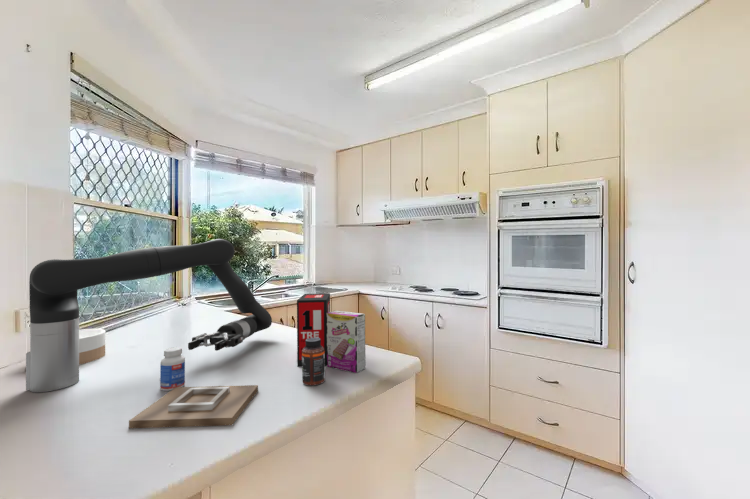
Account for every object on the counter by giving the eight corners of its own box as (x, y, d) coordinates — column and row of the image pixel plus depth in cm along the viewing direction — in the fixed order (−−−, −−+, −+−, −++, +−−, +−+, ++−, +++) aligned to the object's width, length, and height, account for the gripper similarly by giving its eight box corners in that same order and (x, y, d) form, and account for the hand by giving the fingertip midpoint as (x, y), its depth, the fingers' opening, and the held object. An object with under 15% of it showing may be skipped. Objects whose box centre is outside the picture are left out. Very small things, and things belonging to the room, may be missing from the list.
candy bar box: (325, 367, 97) (325, 312, 97) (336, 362, 101) (335, 310, 101) (356, 374, 91) (356, 315, 91) (366, 368, 95) (365, 313, 96)
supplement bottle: (329, 379, 87) (329, 337, 88) (316, 388, 82) (316, 343, 82) (311, 376, 90) (310, 335, 90) (297, 384, 85) (297, 340, 85)
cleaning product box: (327, 365, 98) (326, 299, 99) (297, 366, 98) (296, 300, 98) (330, 349, 115) (329, 293, 115) (305, 350, 114) (304, 293, 115)
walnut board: (128, 428, 64) (128, 414, 64) (175, 393, 80) (175, 382, 80) (232, 425, 64) (232, 411, 65) (258, 391, 80) (257, 380, 81)
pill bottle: (173, 392, 80) (173, 352, 81) (154, 390, 81) (154, 351, 82) (189, 383, 86) (189, 346, 86) (172, 382, 87) (172, 345, 87)
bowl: (96, 349, 119) (96, 326, 119) (112, 357, 109) (112, 332, 109) (28, 362, 105) (29, 336, 105) (39, 373, 95) (39, 344, 95)
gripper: (214, 321, 112) (180, 333, 96) (253, 322, 110) (224, 334, 94) (214, 343, 112) (180, 359, 96) (253, 344, 110) (225, 360, 94)
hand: (202, 346), depth 95 cm, fingers open, 8 cm apart
